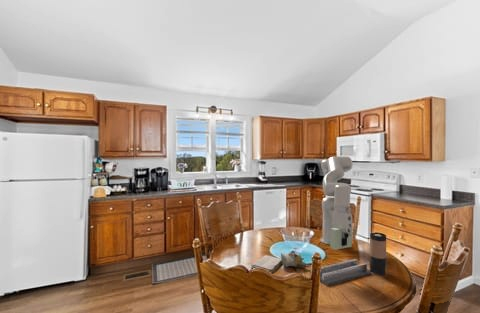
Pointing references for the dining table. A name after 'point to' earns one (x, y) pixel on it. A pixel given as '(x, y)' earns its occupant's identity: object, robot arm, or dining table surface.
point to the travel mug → (378, 253)
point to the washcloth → (267, 263)
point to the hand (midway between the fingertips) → (341, 243)
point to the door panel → (338, 239)
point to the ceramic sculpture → (293, 260)
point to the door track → (342, 272)
